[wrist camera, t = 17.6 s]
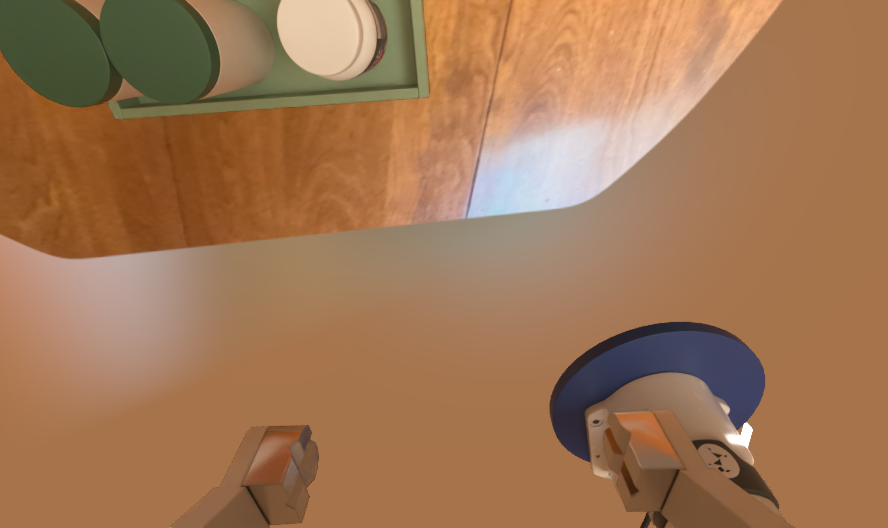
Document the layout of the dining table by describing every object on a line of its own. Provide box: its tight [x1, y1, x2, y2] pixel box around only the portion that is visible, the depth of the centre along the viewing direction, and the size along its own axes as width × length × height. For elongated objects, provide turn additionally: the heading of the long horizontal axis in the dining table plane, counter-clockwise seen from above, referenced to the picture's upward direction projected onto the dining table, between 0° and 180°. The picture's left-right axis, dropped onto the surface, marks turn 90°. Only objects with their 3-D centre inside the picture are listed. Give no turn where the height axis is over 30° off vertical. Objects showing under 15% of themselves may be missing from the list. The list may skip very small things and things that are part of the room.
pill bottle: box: [277, 0, 388, 81], centre depth 26 cm, size 6×6×10 cm
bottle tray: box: [108, 0, 430, 120], centre depth 30 cm, size 26×10×3 cm, turn 94°
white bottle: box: [100, 0, 275, 104], centre depth 26 cm, size 6×6×10 cm
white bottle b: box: [0, 0, 144, 107], centre depth 26 cm, size 6×6×10 cm
